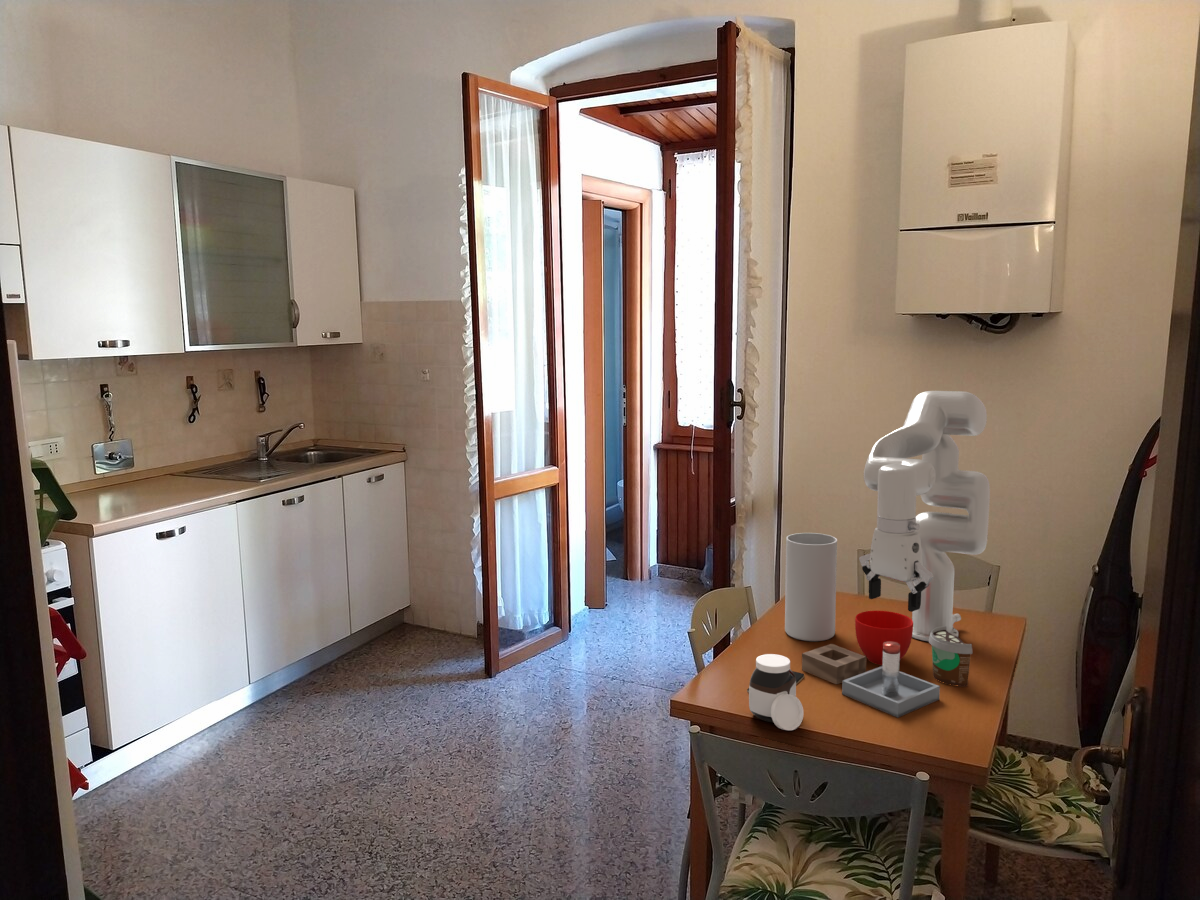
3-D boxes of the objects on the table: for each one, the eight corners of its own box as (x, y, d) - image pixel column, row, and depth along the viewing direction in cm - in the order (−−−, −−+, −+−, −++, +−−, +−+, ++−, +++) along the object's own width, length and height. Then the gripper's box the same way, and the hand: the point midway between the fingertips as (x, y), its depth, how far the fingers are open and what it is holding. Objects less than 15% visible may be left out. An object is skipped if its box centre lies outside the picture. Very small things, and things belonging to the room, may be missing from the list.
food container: (917, 668, 197) (919, 626, 195) (943, 666, 197) (945, 625, 196) (943, 690, 184) (945, 646, 183) (970, 689, 185) (972, 644, 183)
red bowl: (929, 655, 204) (930, 614, 203) (895, 675, 193) (897, 633, 191) (878, 641, 213) (879, 603, 212) (843, 660, 202) (844, 619, 200)
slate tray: (883, 678, 191) (883, 665, 191) (939, 699, 180) (939, 686, 180) (842, 694, 183) (842, 680, 183) (897, 717, 172) (898, 703, 172)
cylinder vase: (784, 640, 215) (785, 543, 212) (785, 623, 227) (786, 531, 224) (835, 644, 212) (837, 545, 209) (834, 626, 224) (836, 533, 221)
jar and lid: (767, 701, 181) (768, 648, 179) (817, 716, 174) (818, 661, 172) (738, 721, 172) (738, 666, 170) (789, 738, 164) (790, 680, 163)
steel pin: (888, 689, 184) (889, 640, 183) (901, 694, 181) (903, 644, 180) (878, 693, 182) (879, 643, 181) (891, 698, 179) (893, 648, 178)
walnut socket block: (831, 659, 202) (831, 643, 202) (865, 673, 194) (866, 656, 193) (801, 670, 197) (802, 653, 196) (836, 684, 188) (836, 667, 188)
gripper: (944, 529, 172) (941, 611, 174) (872, 514, 186) (871, 589, 188) (921, 536, 167) (918, 619, 170) (850, 519, 181) (848, 597, 184)
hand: (893, 603), depth 179 cm, fingers open, 9 cm apart
